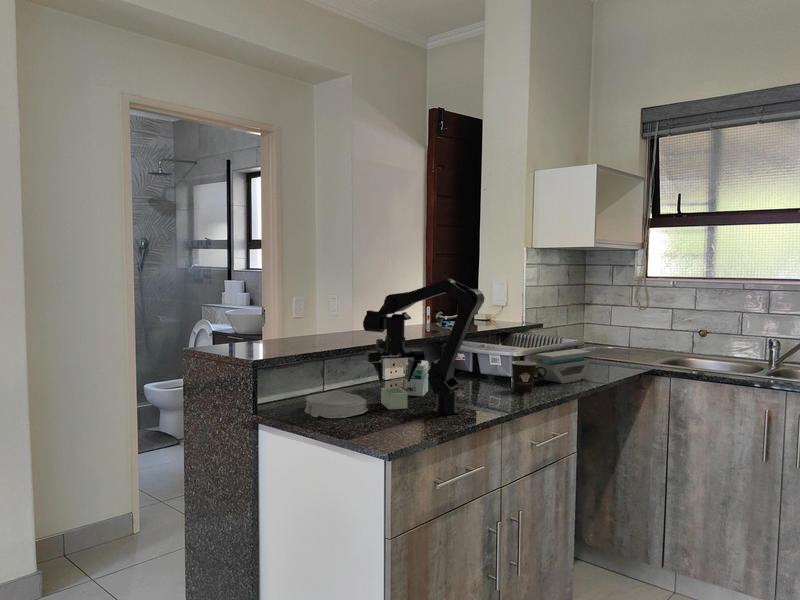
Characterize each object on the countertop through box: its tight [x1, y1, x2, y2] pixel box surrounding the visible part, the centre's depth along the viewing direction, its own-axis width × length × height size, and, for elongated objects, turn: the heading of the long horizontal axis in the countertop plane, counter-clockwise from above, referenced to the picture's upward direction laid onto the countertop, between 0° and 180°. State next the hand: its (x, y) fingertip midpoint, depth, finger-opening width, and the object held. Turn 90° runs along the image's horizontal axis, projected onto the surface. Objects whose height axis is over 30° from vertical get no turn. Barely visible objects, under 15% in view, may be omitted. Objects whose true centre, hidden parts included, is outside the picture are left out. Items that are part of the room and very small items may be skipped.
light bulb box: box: [404, 360, 429, 397], centre depth 217 cm, size 11×7×11 cm, turn 168°
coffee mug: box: [511, 360, 546, 393], centre depth 224 cm, size 12×9×10 cm
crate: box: [380, 386, 409, 410], centre depth 199 cm, size 9×6×5 cm, turn 17°
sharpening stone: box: [534, 348, 593, 384], centre depth 245 cm, size 25×8×11 cm, turn 128°
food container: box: [304, 389, 369, 419], centre depth 191 cm, size 20×20×7 cm
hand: (394, 382), depth 198 cm, fingers open, 9 cm apart
